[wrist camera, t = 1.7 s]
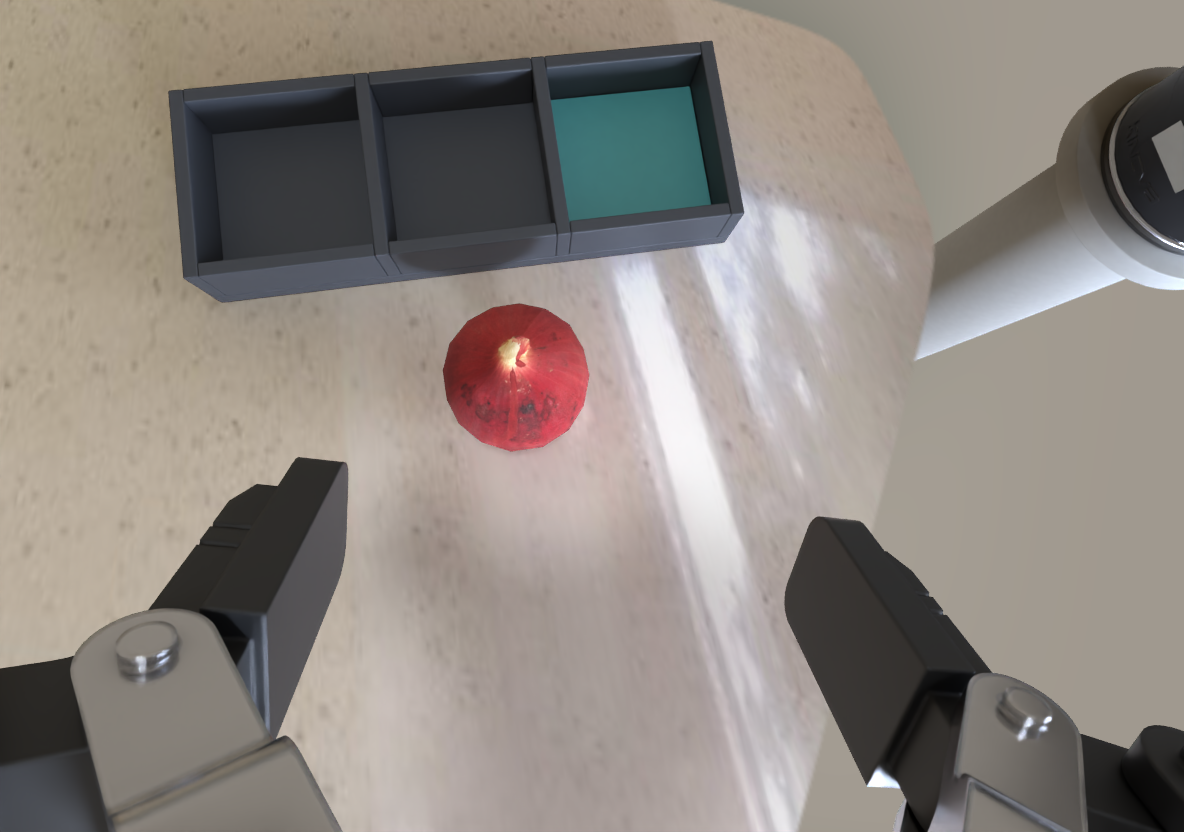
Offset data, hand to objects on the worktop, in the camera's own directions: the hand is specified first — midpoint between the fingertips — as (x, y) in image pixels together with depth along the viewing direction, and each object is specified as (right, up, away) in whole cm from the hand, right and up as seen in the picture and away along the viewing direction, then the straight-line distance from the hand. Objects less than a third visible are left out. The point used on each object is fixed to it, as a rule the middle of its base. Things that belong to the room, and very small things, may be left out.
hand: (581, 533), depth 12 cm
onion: (-3, +3, +20) cm, 20 cm away
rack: (-6, +13, +20) cm, 25 cm away
